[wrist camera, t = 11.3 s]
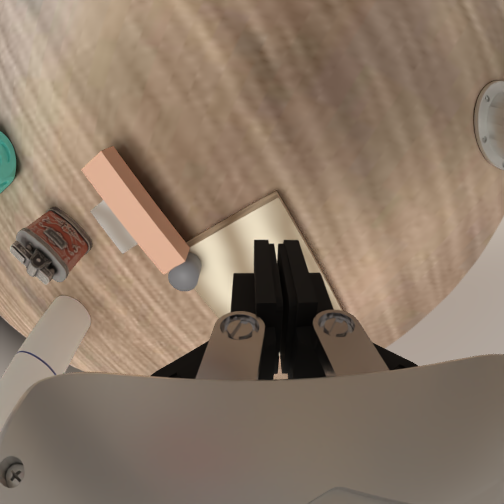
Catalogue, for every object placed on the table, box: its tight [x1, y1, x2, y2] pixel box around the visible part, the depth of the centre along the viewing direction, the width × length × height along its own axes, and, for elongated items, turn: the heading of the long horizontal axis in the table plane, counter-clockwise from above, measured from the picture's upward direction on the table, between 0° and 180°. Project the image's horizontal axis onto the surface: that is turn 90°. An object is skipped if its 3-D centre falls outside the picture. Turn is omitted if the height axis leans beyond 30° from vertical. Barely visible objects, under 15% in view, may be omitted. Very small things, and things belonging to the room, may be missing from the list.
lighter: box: [10, 207, 92, 284], centre depth 31 cm, size 8×3×10 cm, turn 44°
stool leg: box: [81, 146, 202, 291], centre depth 31 cm, size 17×3×3 cm, turn 32°
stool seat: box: [91, 191, 343, 355], centre depth 36 cm, size 17×30×4 cm, turn 31°
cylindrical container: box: [0, 296, 91, 432], centre depth 31 cm, size 7×7×25 cm
